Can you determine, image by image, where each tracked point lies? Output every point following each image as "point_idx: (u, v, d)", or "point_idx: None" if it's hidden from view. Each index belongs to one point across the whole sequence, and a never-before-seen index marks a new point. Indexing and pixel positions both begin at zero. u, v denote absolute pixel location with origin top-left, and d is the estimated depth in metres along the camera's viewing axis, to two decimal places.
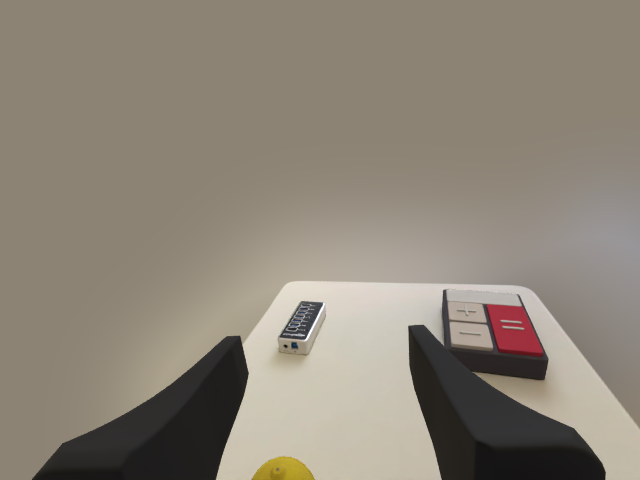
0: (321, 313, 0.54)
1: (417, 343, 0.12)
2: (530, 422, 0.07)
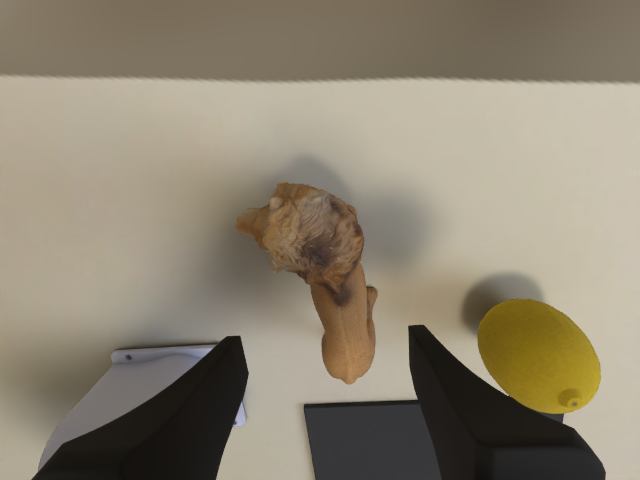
0: None
1: (417, 343, 0.12)
2: (530, 422, 0.07)
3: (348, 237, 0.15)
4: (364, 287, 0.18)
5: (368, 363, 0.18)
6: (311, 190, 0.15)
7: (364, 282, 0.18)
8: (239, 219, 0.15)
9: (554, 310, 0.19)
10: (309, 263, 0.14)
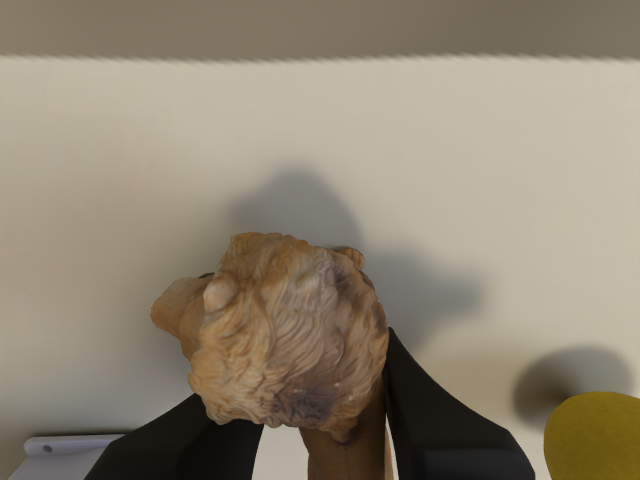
0: None
1: None
2: (468, 424, 0.08)
3: (367, 344, 0.08)
4: (383, 403, 0.11)
5: None
6: (298, 257, 0.07)
7: (383, 394, 0.11)
8: (156, 304, 0.08)
9: None
10: (290, 419, 0.07)
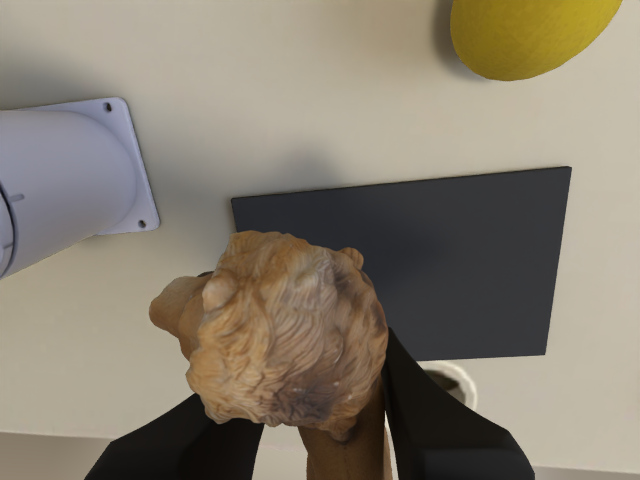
0: None
1: None
2: (468, 424, 0.08)
3: (367, 343, 0.08)
4: (382, 402, 0.11)
5: None
6: (297, 256, 0.07)
7: (382, 393, 0.11)
8: (154, 302, 0.08)
9: None
10: (289, 418, 0.06)
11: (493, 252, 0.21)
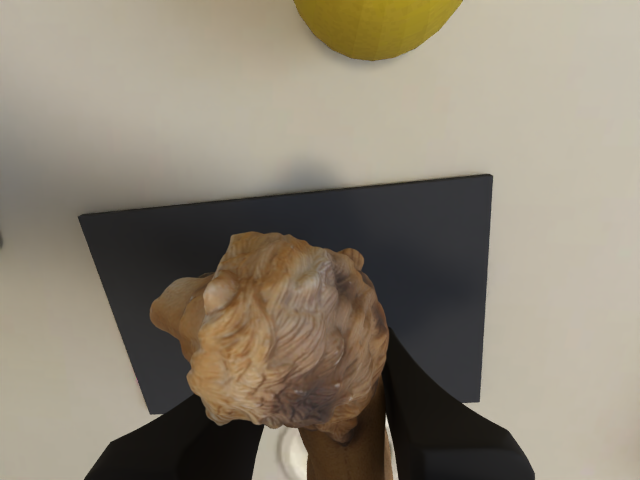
0: None
1: None
2: (468, 424, 0.08)
3: (368, 345, 0.08)
4: (383, 403, 0.11)
5: None
6: (298, 257, 0.07)
7: (383, 394, 0.11)
8: (155, 304, 0.08)
9: None
10: (290, 420, 0.06)
11: (405, 280, 0.17)
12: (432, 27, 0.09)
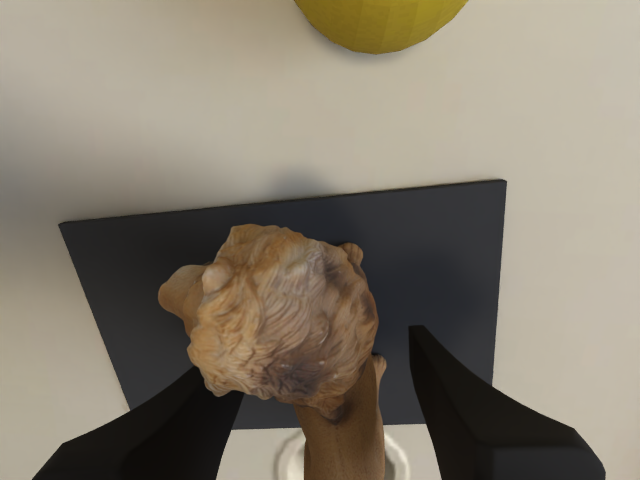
0: None
1: (417, 343, 0.12)
2: (530, 422, 0.07)
3: (354, 329, 0.09)
4: (374, 388, 0.11)
5: None
6: (290, 247, 0.08)
7: (374, 379, 0.11)
8: (163, 287, 0.09)
9: None
10: (278, 392, 0.07)
11: (410, 293, 0.16)
12: (446, 14, 0.08)
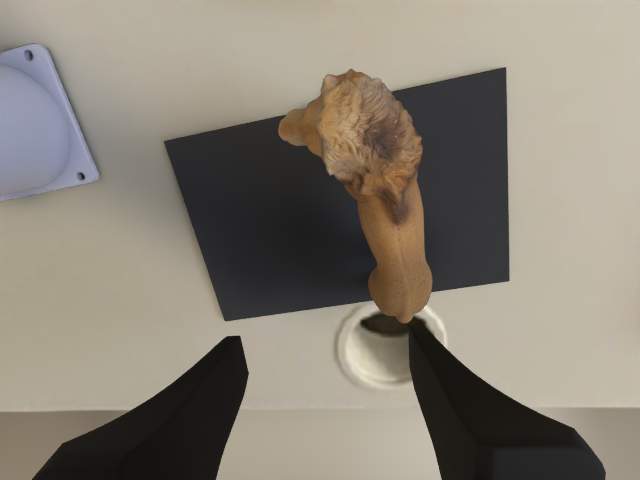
0: None
1: (417, 343, 0.12)
2: (530, 422, 0.07)
3: (410, 133, 0.13)
4: (421, 206, 0.16)
5: (428, 294, 0.16)
6: (367, 75, 0.13)
7: (421, 201, 0.16)
8: (282, 120, 0.13)
9: None
10: (371, 154, 0.12)
11: (438, 171, 0.20)
12: None
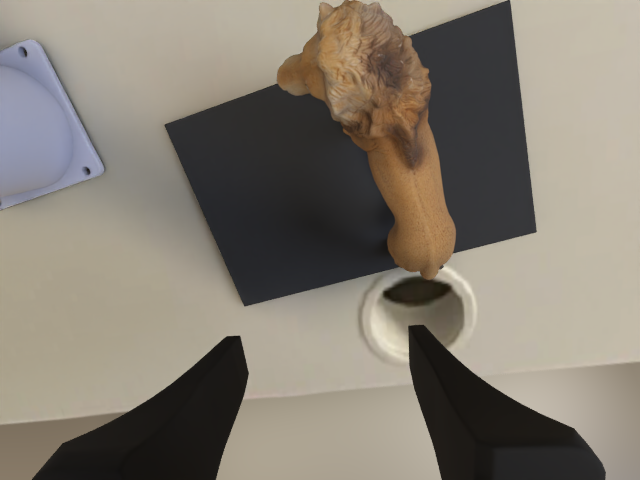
0: None
1: (417, 343, 0.12)
2: (530, 422, 0.07)
3: (416, 62, 0.12)
4: (435, 149, 0.15)
5: (452, 243, 0.15)
6: None
7: (434, 143, 0.15)
8: (280, 68, 0.13)
9: None
10: (377, 83, 0.11)
11: (448, 122, 0.19)
12: None
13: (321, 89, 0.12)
